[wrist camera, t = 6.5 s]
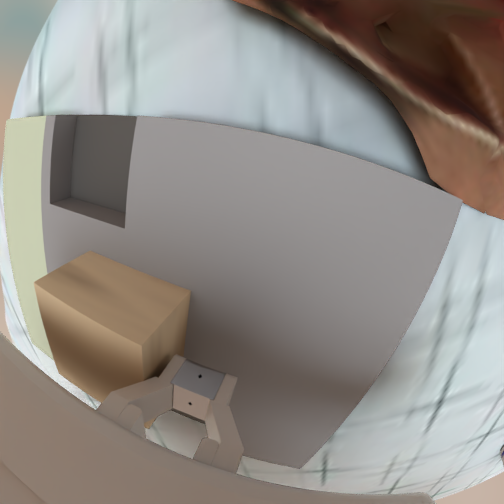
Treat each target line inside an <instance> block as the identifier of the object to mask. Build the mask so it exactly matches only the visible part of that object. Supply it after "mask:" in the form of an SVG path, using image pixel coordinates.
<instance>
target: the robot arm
mask: <svg viewBox="0 0 504 504" xmlns="http://www.w3.org/2000/svg"><path fill="white" fill-rule="evenodd" d="M237 378H238V377H235V376H232V375H229V374H226V373H224V372H221V371H218V370H215V369H212V368H209V367H207V366H203V365H201V364H198V363H196V362H194V361H191V360H189V359H187V358H184V357H182V356H179V355H177V354H176V355H175V356H174V357H173V358H172V359H171V361H170V362H169V364H168V365H167V366H166V368H165V369H164V371H163V372H162V373H161V375H160V376H159V378H158V377H153V378H150V379H147V380H145V381H142V382H139V383H136V384H133V385H130V386H127V387H124V388H121V389H118V390H115V391H112V392H111V393H110V394H109V395H108V396H107V397H106V399H105V400H104V401H103V402H102V403H101V405H100V406H99V407H98V408H97V410H95V409H93V408H92V407H90V406H89V405H87V404H86V403H84V402H83V401H81V400H80V399H78V398H77V397H75V396H74V395H73V394H71V393H70V392H68V391H67V390H66V389H64V388H63V387H62V386H60V385H59V384H58V383H57V382H55V381H54V380H53V379H51V378H50V377H49V376H48V375H46V374H45V373H44V372H43V371H42V370H40V369H39V368H38V367H37V366H36V365H35V364H34V363H32V362H31V361H30V360H29V359H28V358H27V357H26V356H25V355H24V354H22V353H21V352H20V351H19V350H18V349H17V348H16V347H15V346H14V345H13V344H12V343H11V342H10V341H9V340H8V339H7V338H6V337H5V336H4V335H3V334H2V333H1V332H0V504H436V503H435V502H434V500H433V499H432V498H431V497H430V496H429V495H428V494H427V493H407V494H383V495H370V494H345V493H332V492H323V491H314V490H307V489H300V488H294V487H289V486H283V485H278V484H273V483H269V482H264V481H260V480H256V479H252V478H248V477H245V476H241V475H238V474H236V472H237V469H238V466H239V463H240V460H241V457H242V454H243V451H244V448H243V445H242V442H241V439H240V436H239V433H238V430H237V427H236V424H235V421H234V418H233V415H232V412H231V409H230V406H229V403H230V400H231V397H232V394H233V391H234V388H235V385H236V382H237ZM172 408H174V409H177V410H179V411H182V412H184V413H187V414H189V415H192V416H194V417H196V418H199V419H201V420H204V421H205V424H206V429H207V434H208V438H207V437H206V438H203V439H202V441H201V443H200V445H199V447H198V449H197V451H196V453H195V455H194V457H193V459H191V458H188V457H185V456H183V455H181V454H178V453H176V452H174V451H171V450H169V449H167V448H164V447H162V446H160V445H158V444H156V443H154V442H152V441H150V440H148V439H146V434H145V428H144V423H146V422H148V421H150V420H152V419H154V418H156V417H158V416H160V415H161V414H163V413H165V412H167V411H169V410H171V409H172Z"/></svg>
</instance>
